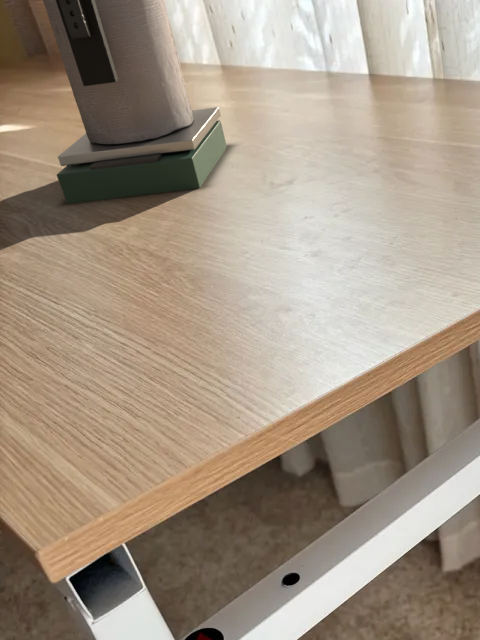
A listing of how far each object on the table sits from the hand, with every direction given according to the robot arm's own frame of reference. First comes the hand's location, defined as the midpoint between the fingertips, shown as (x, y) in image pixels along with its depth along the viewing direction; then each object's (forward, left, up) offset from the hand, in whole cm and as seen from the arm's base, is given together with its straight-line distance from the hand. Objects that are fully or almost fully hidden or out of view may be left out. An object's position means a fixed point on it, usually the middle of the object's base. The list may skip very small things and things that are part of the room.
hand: (123, 68), depth 71 cm
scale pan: (0, 0, -6) cm, 6 cm away
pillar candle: (0, 0, -5) cm, 5 cm away
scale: (0, -1, -9) cm, 9 cm away
